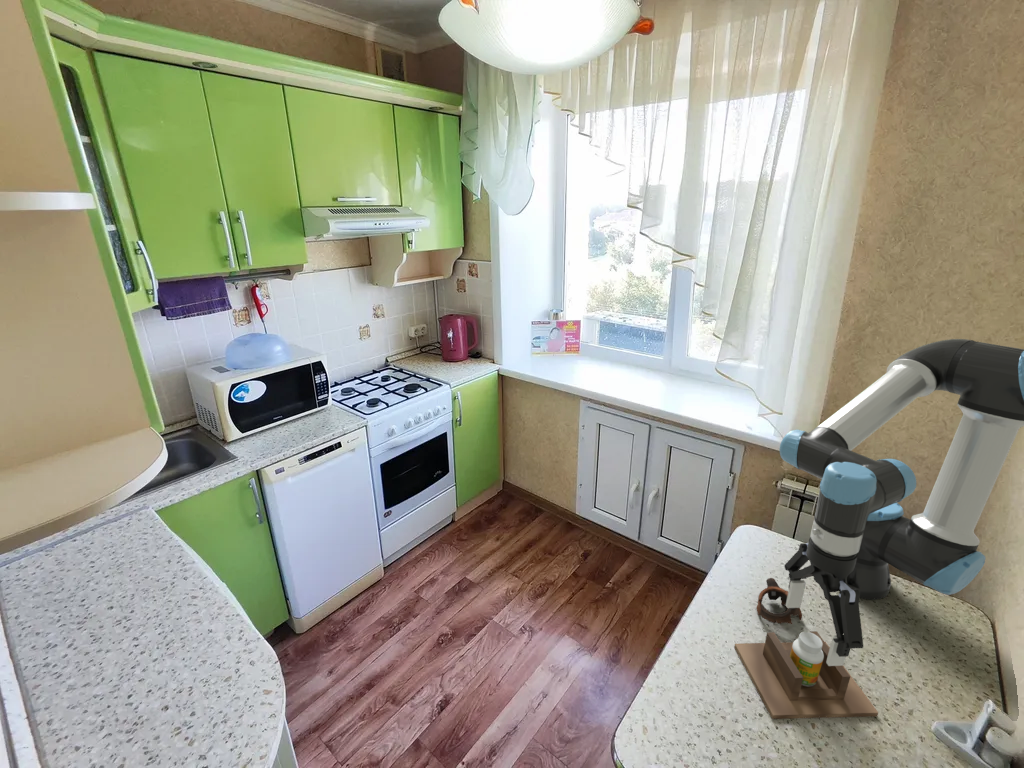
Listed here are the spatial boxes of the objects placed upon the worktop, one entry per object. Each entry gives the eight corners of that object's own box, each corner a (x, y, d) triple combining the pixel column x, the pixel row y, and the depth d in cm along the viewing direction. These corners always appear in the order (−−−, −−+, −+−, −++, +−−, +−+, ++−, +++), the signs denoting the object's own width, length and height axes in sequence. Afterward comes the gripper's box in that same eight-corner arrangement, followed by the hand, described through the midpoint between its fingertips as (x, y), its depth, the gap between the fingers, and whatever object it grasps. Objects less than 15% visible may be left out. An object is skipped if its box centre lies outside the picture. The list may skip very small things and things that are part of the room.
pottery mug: (812, 632, 110) (806, 614, 106) (770, 641, 112) (762, 624, 108) (788, 584, 120) (781, 566, 116) (749, 594, 122) (742, 577, 118)
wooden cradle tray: (824, 644, 106) (830, 620, 103) (877, 716, 91) (886, 689, 88) (734, 647, 106) (738, 622, 103) (772, 719, 91) (778, 692, 88)
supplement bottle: (791, 684, 96) (800, 648, 93) (782, 661, 101) (791, 626, 98) (820, 690, 95) (831, 653, 92) (811, 666, 100) (820, 630, 96)
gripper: (776, 505, 99) (761, 587, 106) (860, 596, 75) (834, 693, 83) (812, 504, 99) (795, 586, 106) (908, 595, 75) (877, 692, 83)
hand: (812, 633), depth 94 cm, fingers open, 13 cm apart
